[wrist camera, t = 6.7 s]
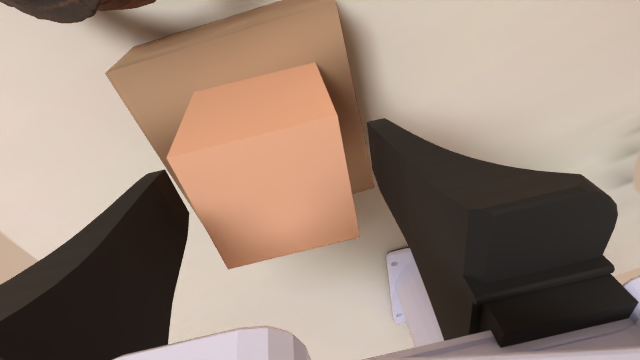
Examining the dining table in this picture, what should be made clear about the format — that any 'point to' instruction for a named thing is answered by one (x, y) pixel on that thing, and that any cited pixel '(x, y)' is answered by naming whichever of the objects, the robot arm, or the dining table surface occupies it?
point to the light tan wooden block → (241, 71)
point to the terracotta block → (266, 166)
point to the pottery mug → (71, 8)
